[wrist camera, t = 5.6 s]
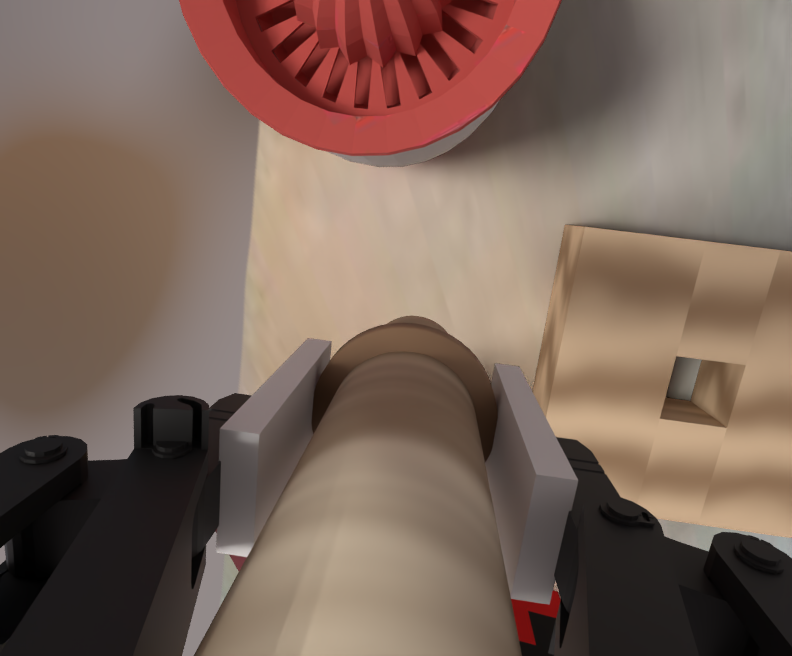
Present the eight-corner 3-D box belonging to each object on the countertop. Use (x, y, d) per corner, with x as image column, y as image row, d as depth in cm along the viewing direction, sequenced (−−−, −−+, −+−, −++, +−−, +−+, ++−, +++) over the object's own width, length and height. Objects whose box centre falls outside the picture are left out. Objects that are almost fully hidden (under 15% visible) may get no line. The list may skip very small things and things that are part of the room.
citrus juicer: (569, 97, 35) (742, -48, 15) (356, 218, 38) (274, 227, 18) (468, -129, 32) (522, -655, 13) (248, 21, 35) (18, -215, 16)
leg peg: (353, 284, 19) (-44, 654, 3) (489, 302, 18) (768, 794, 3) (341, 410, 20) (17, 1105, 5) (468, 428, 20) (587, 1229, 4)
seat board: (565, 224, 37) (585, 226, 32) (842, 257, 36) (906, 265, 31) (518, 465, 41) (529, 499, 36) (761, 500, 40) (806, 540, 36)
